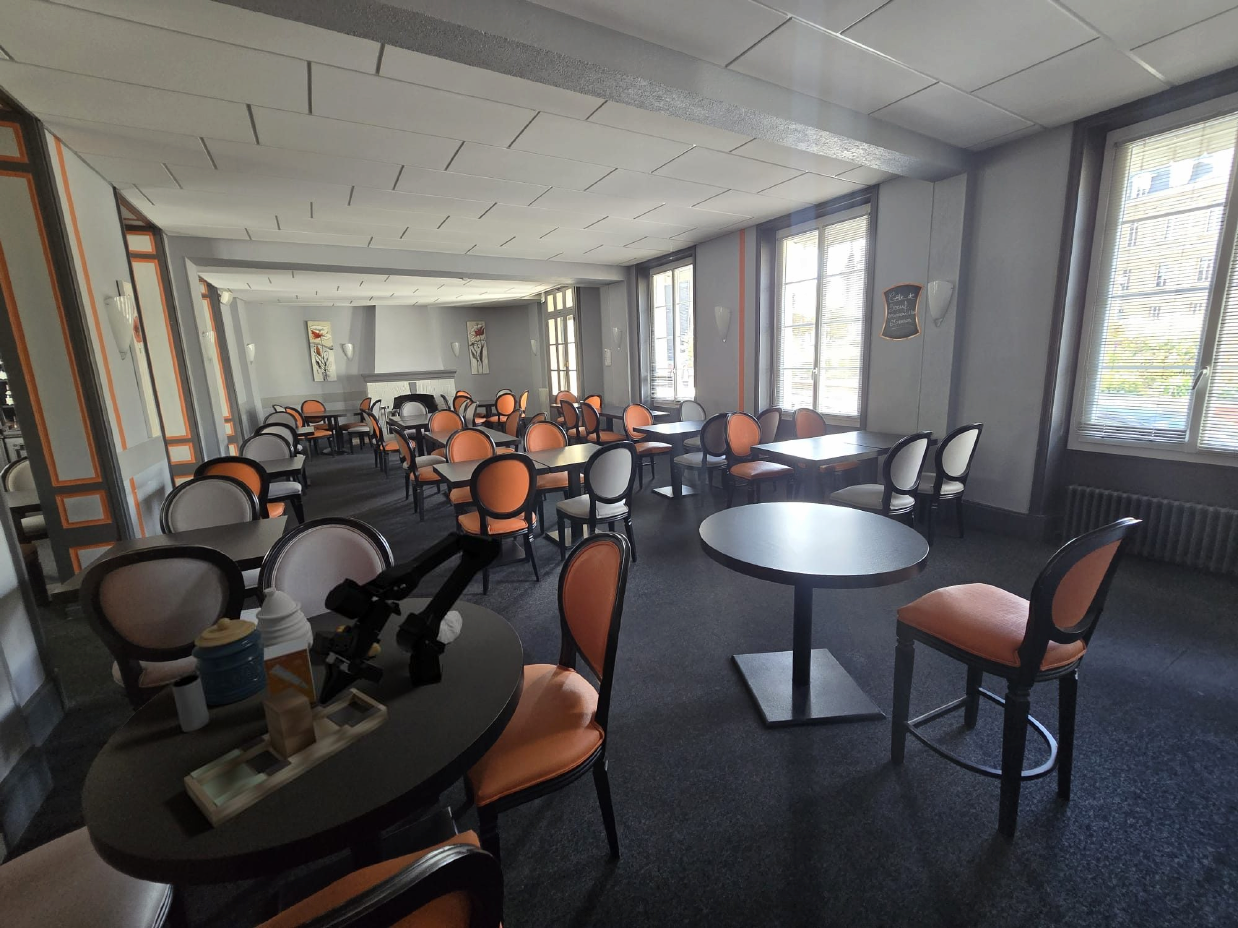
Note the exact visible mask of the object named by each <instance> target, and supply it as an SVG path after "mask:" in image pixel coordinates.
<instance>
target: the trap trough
mask: <svg viewBox="0 0 1238 928" xmlns="http://www.w3.org/2000/svg"><path fill="white" fill-rule="evenodd" d="M311 714H312V719H313V725H314V730H315V736H316V743H314V744H312V745H311V746H309V747H307V748H305V749H304V750H302V751H300V752H299V753H297V754H295V755H293V756H292V757H290V758H288V759H287V758H286V759H284V758H283V757H282V756H281V755H280V754H278V753H277V752H276V751H275V750H274V749H273V748H272V745H271V740H270V735H269V732H267V733H266V734H265V733H264V735H260V736H258V737H256V738H255V739H252V740H250V741H249V742H247V743H245V744H242V745H241V746H240V747H239V748H238V749H237V748H235V749H233V750H232V751H230V752H228V753H227V754H224V755H222V756H220V757H218V758H216V759H215V760H213V761H212V762H209V763H207V764H206V765H204V766H202V767H200V768H198V769H195V770H194V771H192V772H190V774H189V775H187V776H184V777H183V782H184V786H185V789H186V793H187V795H188V796H189V798H191V800H192V801H193V802H194V803H195V805H196V807H198V809H199V810H200V811H201V813H202V814H203V815H204V816H205V818H206V819H207V820H208V821H209V822H210V825H212V826H213V827H214V829H215V828H217V827H218V826H221V825H222V824H223V823H225V822H226V821H228V820H230V819H232V818H233V817H235V816H237V815H238V814H239V813H241V812H243V811H244V810H245V809H248V808H249V807H251V806H253V805H254V804H256V803H257V802H259V801H260V800H262V799H264V798H266V797H267V796H268V795H270V794H272V793H273V792H275V791H277V790H279V789H280V788H282V787H283V786H285V785H286V784H288V783H289V782H292V781H293V780H294V779H296V778H298V777H300V776H301V775H303V774H304V773H306V772H308V771H309V770H311V769H312V768H314V767H315V766H317V765H319V764H321V763H322V762H324V761H325V760H327V759H329V758H330V757H332V756H334V755H335V754H337V753H338V752H339V751H342V750H344V749H345V748H347V747H348V746H350V745H351V744H353V743H355V742H356V741H357V740H360V739H361V738H362V736H363V737H364V736H367V734H369V733H371V732H372V731H374V730H375V729H377V728H379V727H380V726H382V725H384V724H385V723H387V722H388V721H389V715H388V708H387V707H386V706H385V705H383V704H381V703H380V702H378V701H376V700H374V699H373V698H371V697H369V696H368V695H366V694H365V693H362V691H359V690H357V688H355V687H352V688H350V689H347V690H346V689H345V690H343V691H342V692H340V693H339V694H337V695H336V696H335V697H334V698H332V699H331V700H330V701H328V702H327V703H326V704H324V705H323V704H320V703H319V705H318V706H316V707H315V708H312V709H311Z"/></svg>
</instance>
